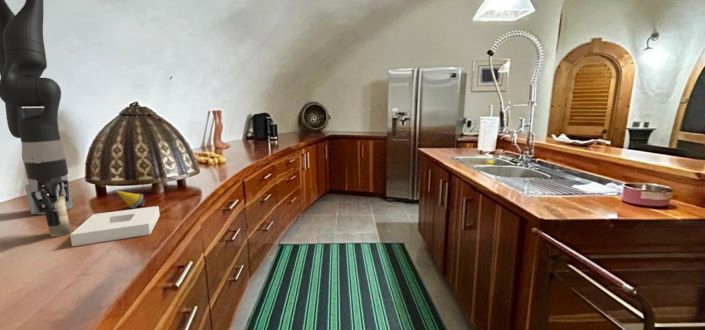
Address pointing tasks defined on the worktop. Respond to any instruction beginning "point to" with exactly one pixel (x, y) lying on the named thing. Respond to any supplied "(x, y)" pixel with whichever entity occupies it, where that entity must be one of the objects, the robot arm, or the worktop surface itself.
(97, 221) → the socket board
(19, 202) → the worktop surface
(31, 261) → the worktop surface
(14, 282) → the worktop surface
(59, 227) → the wooden peg
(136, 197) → the drill bit
